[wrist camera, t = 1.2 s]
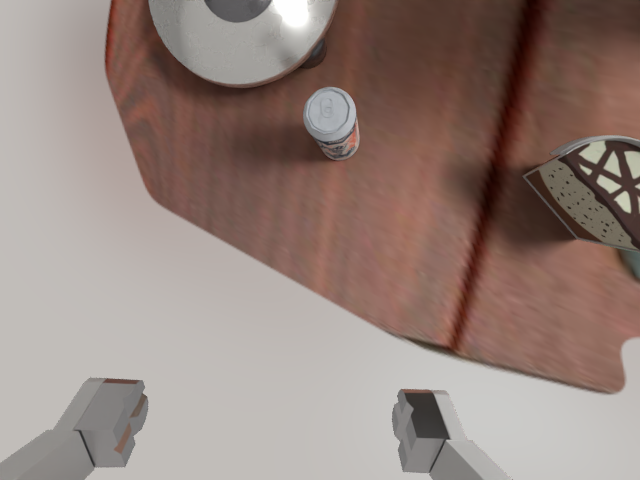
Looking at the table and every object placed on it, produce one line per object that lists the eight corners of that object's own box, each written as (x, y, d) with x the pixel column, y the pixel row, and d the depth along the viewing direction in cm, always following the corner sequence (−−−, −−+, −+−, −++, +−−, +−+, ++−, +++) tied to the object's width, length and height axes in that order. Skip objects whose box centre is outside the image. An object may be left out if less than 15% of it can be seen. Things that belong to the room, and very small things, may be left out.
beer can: (323, 164, 42) (304, 143, 30) (317, 125, 42) (297, 88, 30) (362, 157, 41) (359, 133, 30) (357, 117, 41) (351, 77, 29)
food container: (635, 214, 38) (729, 213, 28) (585, 249, 38) (660, 260, 29) (559, 129, 38) (626, 98, 28) (513, 166, 39) (561, 148, 29)
